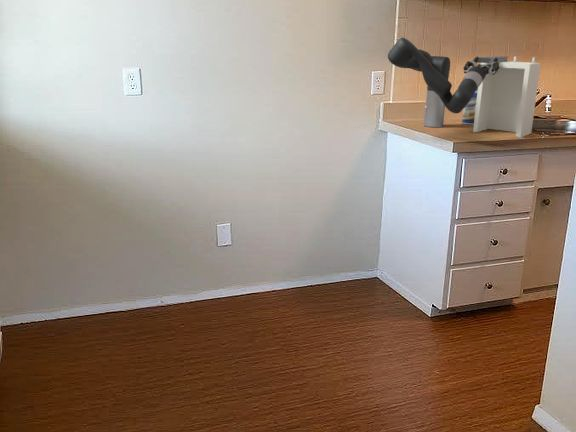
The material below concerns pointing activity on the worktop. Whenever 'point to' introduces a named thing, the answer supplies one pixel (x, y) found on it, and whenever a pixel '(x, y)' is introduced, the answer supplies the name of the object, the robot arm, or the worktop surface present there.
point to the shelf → (508, 98)
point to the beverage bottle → (470, 110)
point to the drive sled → (490, 59)
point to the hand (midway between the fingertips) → (487, 58)
